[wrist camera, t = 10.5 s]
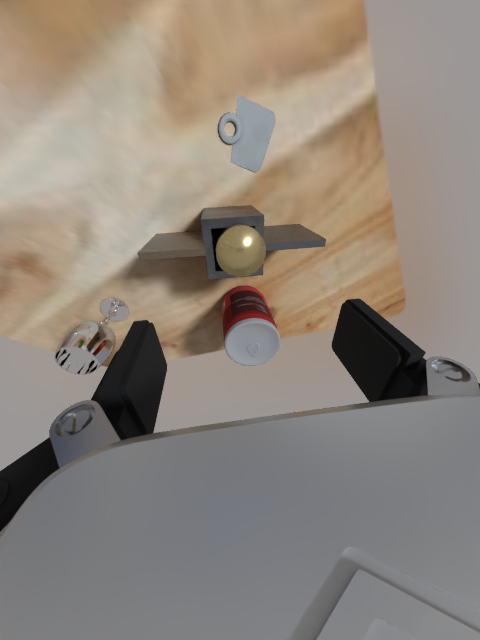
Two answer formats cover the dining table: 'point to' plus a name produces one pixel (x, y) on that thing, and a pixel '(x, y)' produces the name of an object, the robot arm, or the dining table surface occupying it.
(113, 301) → the wineglass
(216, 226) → the hinge leaf
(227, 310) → the canned food
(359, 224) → the dining table surface
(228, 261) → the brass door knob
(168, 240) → the hinge leaf
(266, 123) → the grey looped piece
